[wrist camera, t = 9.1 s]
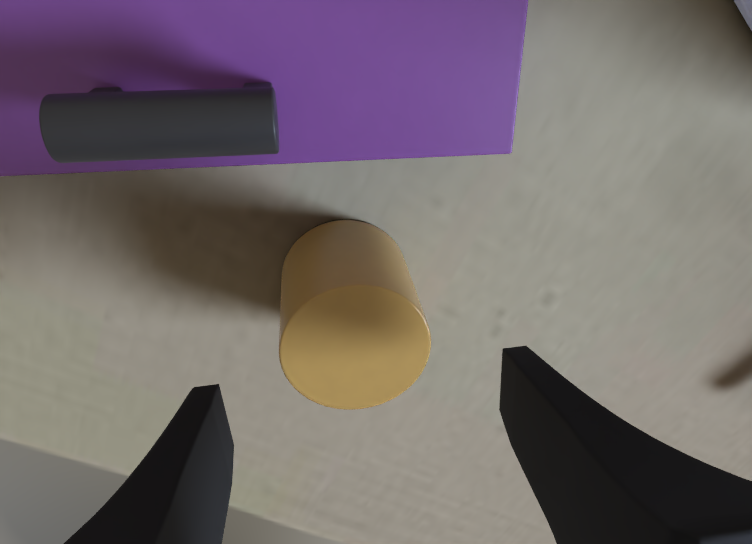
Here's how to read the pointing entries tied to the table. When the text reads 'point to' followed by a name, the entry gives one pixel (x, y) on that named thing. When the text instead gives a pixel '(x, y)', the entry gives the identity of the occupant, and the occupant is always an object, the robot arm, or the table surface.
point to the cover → (253, 82)
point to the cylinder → (350, 317)
